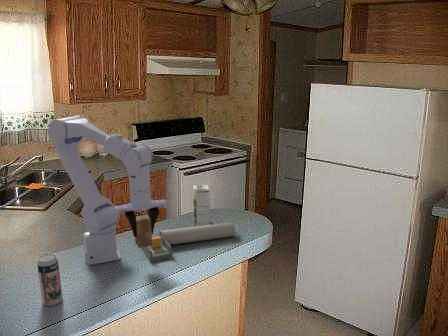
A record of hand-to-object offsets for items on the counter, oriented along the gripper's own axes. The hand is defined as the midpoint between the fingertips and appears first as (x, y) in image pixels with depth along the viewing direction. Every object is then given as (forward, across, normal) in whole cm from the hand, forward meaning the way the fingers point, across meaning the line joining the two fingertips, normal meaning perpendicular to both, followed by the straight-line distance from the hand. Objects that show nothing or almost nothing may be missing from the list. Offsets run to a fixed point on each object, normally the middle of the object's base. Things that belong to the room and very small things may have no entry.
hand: (143, 234), depth 122 cm
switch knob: (+8, +5, +8) cm, 12 cm away
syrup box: (+10, +26, +22) cm, 36 cm away
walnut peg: (+3, 0, 0) cm, 3 cm away
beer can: (+10, -26, -9) cm, 29 cm away
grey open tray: (+10, +5, +8) cm, 14 cm away
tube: (+10, +20, +10) cm, 25 cm away
